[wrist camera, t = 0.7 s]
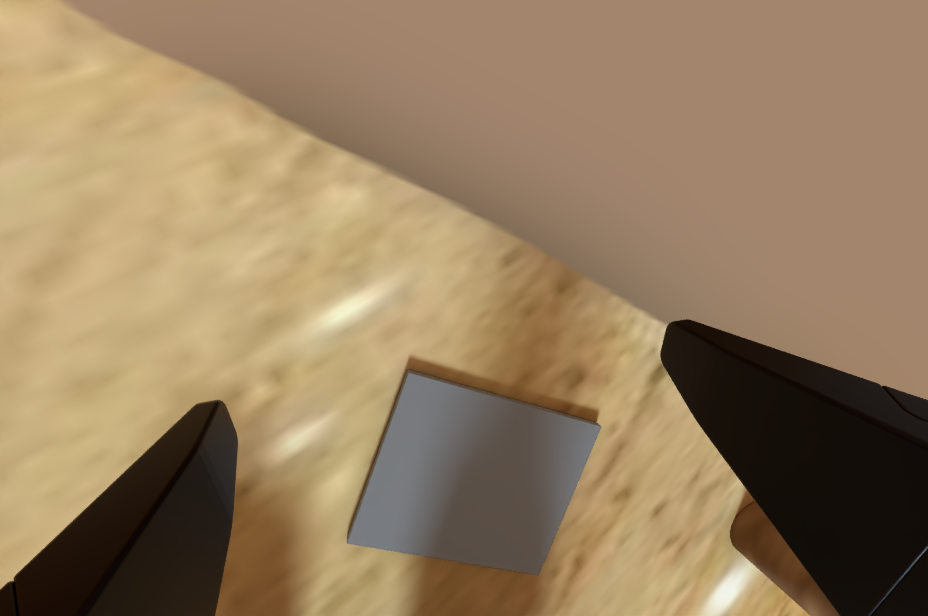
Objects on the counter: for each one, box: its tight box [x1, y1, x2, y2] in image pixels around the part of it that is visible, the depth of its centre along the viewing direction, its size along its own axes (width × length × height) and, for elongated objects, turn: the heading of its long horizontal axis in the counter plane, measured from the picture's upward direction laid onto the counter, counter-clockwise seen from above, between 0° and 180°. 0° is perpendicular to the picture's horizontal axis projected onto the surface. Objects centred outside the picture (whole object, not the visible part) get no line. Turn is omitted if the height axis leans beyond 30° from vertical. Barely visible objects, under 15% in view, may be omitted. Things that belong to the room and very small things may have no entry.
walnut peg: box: [730, 502, 839, 616], centre depth 29 cm, size 4×4×12 cm
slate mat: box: [347, 370, 601, 575], centre depth 29 cm, size 11×13×1 cm
